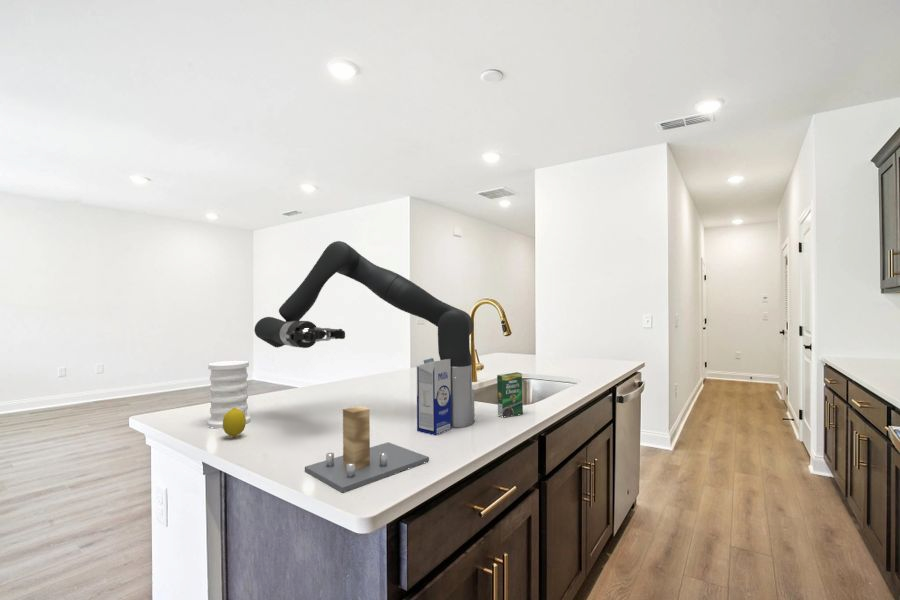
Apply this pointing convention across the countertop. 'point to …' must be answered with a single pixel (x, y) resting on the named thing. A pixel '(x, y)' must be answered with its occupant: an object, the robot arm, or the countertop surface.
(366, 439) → the oak block
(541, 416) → the countertop surface
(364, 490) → the countertop surface
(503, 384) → the coffee box
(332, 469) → the plate
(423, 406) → the milk carton
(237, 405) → the decorative container
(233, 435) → the lemon
